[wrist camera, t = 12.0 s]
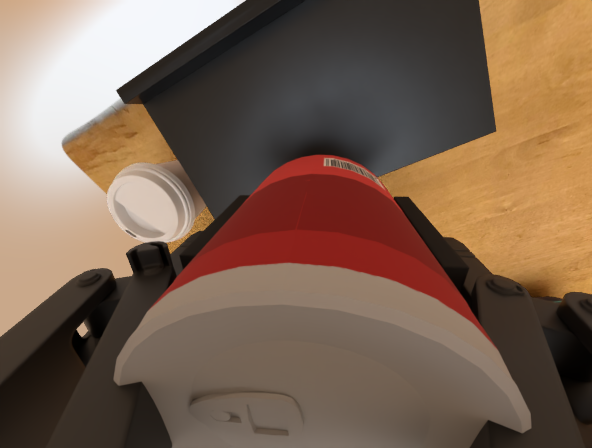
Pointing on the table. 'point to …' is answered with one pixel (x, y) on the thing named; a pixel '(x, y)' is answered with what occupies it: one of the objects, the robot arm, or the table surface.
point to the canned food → (319, 329)
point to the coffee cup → (154, 201)
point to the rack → (318, 88)
